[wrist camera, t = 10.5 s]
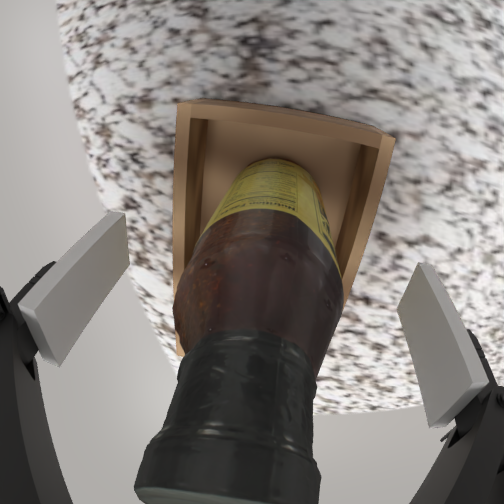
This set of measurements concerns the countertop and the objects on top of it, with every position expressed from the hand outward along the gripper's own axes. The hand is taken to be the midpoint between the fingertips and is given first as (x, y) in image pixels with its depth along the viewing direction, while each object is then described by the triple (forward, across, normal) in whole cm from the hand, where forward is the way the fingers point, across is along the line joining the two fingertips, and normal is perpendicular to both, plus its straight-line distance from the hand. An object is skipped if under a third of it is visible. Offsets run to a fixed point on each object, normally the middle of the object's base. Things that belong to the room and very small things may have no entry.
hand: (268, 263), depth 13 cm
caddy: (+10, 0, -5) cm, 11 cm away
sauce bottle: (+10, 0, 0) cm, 10 cm away
